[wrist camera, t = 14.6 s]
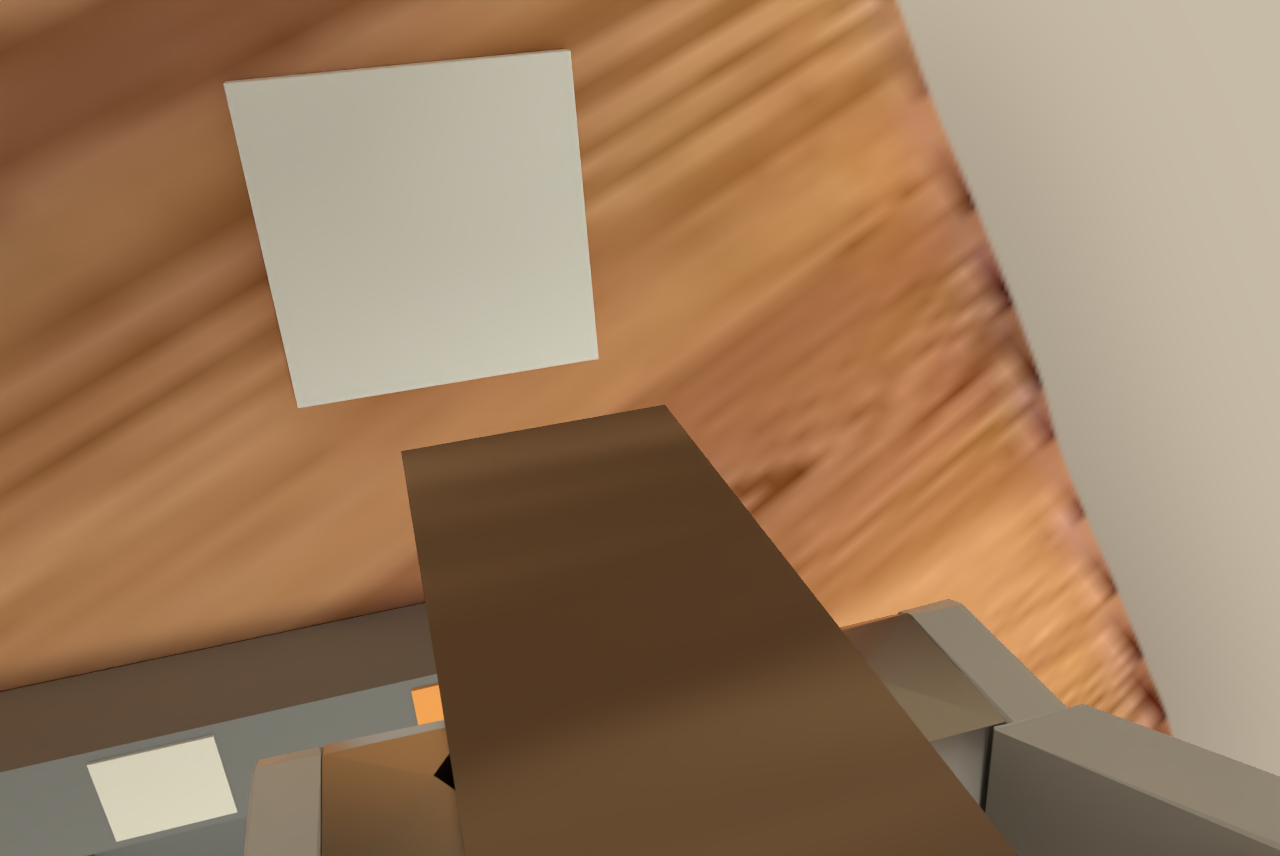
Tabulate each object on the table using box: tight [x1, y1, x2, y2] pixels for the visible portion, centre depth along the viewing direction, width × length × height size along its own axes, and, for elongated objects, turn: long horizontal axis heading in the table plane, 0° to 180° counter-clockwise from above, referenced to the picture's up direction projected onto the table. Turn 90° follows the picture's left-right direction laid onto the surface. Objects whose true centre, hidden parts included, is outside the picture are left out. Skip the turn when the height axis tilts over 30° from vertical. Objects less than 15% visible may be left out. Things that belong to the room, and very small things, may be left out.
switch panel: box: [0, 603, 444, 856], centre depth 30 cm, size 18×10×4 cm, turn 94°
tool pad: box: [223, 49, 599, 408], centre depth 26 cm, size 8×8×1 cm
